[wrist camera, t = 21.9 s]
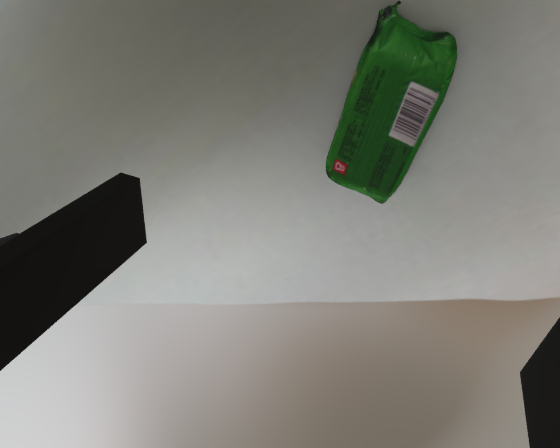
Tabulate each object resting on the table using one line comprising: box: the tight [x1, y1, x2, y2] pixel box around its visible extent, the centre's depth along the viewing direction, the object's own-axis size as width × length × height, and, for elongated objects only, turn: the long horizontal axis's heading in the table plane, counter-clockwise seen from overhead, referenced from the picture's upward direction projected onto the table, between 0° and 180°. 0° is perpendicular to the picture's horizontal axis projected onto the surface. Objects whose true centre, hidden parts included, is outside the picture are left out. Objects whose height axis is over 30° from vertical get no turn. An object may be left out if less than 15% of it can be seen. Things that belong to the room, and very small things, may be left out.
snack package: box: [326, 1, 457, 204], centre depth 34 cm, size 7×16×5 cm, turn 164°
